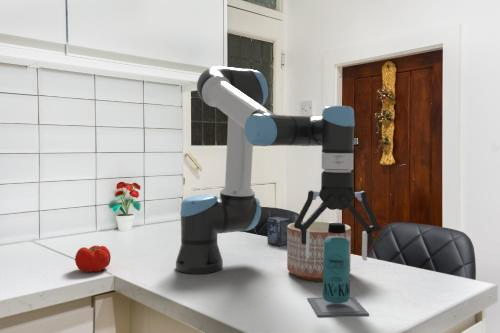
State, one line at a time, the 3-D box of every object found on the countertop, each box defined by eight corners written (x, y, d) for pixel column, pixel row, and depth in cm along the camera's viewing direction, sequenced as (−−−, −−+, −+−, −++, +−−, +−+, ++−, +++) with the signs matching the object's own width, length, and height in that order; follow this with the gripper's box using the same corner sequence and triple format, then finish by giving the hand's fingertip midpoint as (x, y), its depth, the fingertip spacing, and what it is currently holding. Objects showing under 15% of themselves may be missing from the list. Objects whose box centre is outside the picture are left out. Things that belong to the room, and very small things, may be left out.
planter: (336, 287, 124) (337, 234, 124) (276, 276, 135) (276, 227, 134) (358, 271, 141) (359, 224, 140) (303, 263, 151) (303, 219, 150)
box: (267, 243, 182) (267, 217, 182) (277, 241, 186) (277, 216, 185) (280, 246, 176) (280, 220, 176) (290, 244, 180) (290, 218, 179)
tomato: (77, 276, 135) (77, 252, 135) (73, 268, 145) (73, 245, 144) (114, 272, 140) (113, 248, 140) (107, 264, 149) (107, 242, 149)
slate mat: (317, 316, 102) (317, 314, 102) (307, 299, 114) (307, 297, 114) (368, 315, 103) (369, 313, 103) (353, 298, 115) (353, 296, 115)
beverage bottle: (319, 300, 111) (319, 221, 111) (345, 300, 112) (345, 220, 111) (326, 310, 105) (326, 225, 104) (353, 309, 105) (354, 225, 105)
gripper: (284, 171, 105) (283, 260, 106) (394, 172, 102) (391, 264, 103) (285, 169, 112) (284, 252, 113) (387, 170, 110) (385, 256, 111)
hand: (335, 258), depth 108 cm, fingers open, 13 cm apart
